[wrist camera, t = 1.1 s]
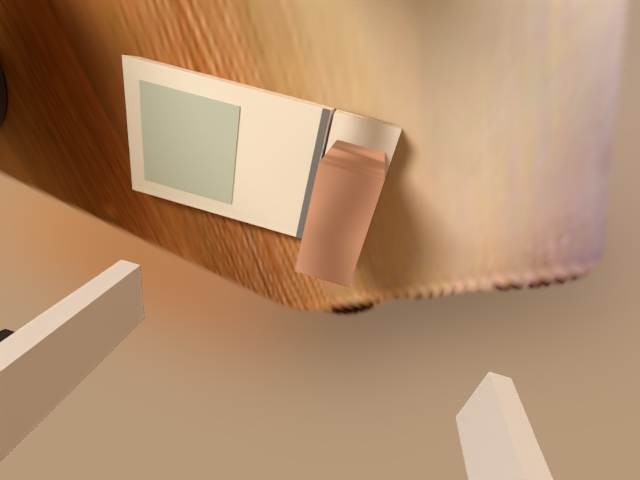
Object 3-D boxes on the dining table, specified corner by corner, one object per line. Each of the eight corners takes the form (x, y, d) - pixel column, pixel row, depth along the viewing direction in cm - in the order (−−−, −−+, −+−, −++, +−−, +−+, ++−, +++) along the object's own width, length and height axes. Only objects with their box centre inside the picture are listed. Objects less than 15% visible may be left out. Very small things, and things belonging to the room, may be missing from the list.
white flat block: (145, 183, 33) (131, 189, 32) (138, 56, 28) (120, 54, 26) (307, 230, 32) (302, 239, 31) (335, 108, 27) (331, 110, 25)
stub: (309, 232, 32) (280, 290, 23) (338, 109, 26) (314, 125, 18) (360, 246, 32) (350, 311, 23) (400, 125, 26) (408, 150, 17)
